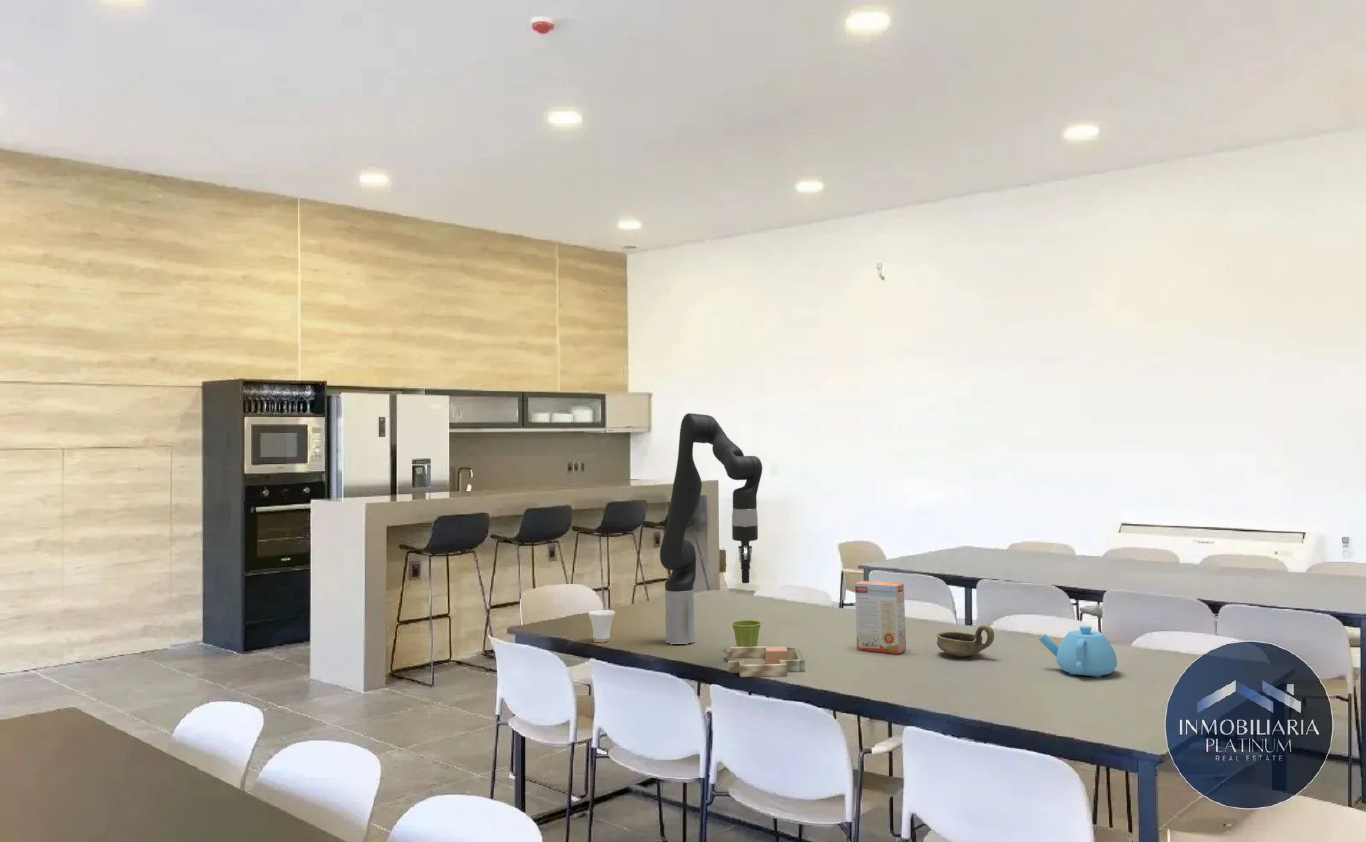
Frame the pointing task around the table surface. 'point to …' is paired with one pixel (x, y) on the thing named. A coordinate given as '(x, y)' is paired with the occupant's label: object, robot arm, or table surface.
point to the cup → (601, 623)
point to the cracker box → (880, 617)
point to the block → (775, 654)
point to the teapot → (1083, 652)
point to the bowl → (964, 642)
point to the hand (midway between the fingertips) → (745, 582)
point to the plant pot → (746, 632)
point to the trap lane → (758, 670)
